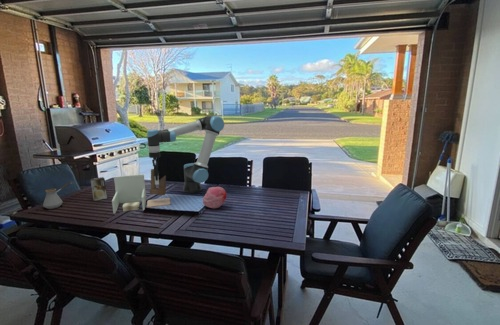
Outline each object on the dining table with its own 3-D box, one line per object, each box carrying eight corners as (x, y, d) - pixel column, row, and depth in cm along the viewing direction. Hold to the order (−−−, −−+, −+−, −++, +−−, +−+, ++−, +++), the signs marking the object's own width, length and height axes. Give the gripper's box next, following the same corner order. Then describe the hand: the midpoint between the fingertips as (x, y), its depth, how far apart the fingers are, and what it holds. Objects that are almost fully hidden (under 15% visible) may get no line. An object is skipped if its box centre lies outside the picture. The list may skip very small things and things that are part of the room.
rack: (146, 199, 206) (143, 174, 202) (145, 209, 186) (142, 181, 182) (117, 203, 200) (114, 176, 196) (112, 213, 179) (109, 184, 175)
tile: (169, 198, 208) (169, 197, 207) (170, 204, 195) (170, 203, 194) (147, 201, 203) (147, 200, 202) (146, 207, 190) (146, 206, 189)
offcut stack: (140, 206, 194) (139, 201, 193) (140, 209, 187) (139, 204, 186) (123, 208, 190) (123, 203, 189) (122, 212, 183) (122, 207, 182)
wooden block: (163, 195, 195) (163, 171, 191) (149, 193, 197) (149, 169, 193) (165, 194, 199) (166, 170, 195) (152, 192, 200) (152, 168, 196)
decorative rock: (233, 197, 192) (222, 179, 193) (229, 201, 179) (216, 182, 179) (212, 210, 196) (201, 193, 196) (206, 216, 182) (194, 197, 182)
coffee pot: (50, 211, 186) (47, 190, 183) (39, 208, 190) (36, 188, 187) (79, 201, 205) (76, 181, 202) (69, 199, 210) (66, 180, 207)
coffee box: (106, 196, 215) (103, 176, 212) (107, 198, 210) (105, 178, 207) (93, 198, 210) (90, 178, 207) (94, 200, 205) (91, 180, 202)
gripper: (149, 150, 198) (151, 180, 203) (148, 154, 181) (151, 187, 186) (159, 149, 200) (162, 179, 205) (160, 153, 184) (162, 186, 188)
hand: (157, 183), depth 196 cm, fingers open, 5 cm apart
